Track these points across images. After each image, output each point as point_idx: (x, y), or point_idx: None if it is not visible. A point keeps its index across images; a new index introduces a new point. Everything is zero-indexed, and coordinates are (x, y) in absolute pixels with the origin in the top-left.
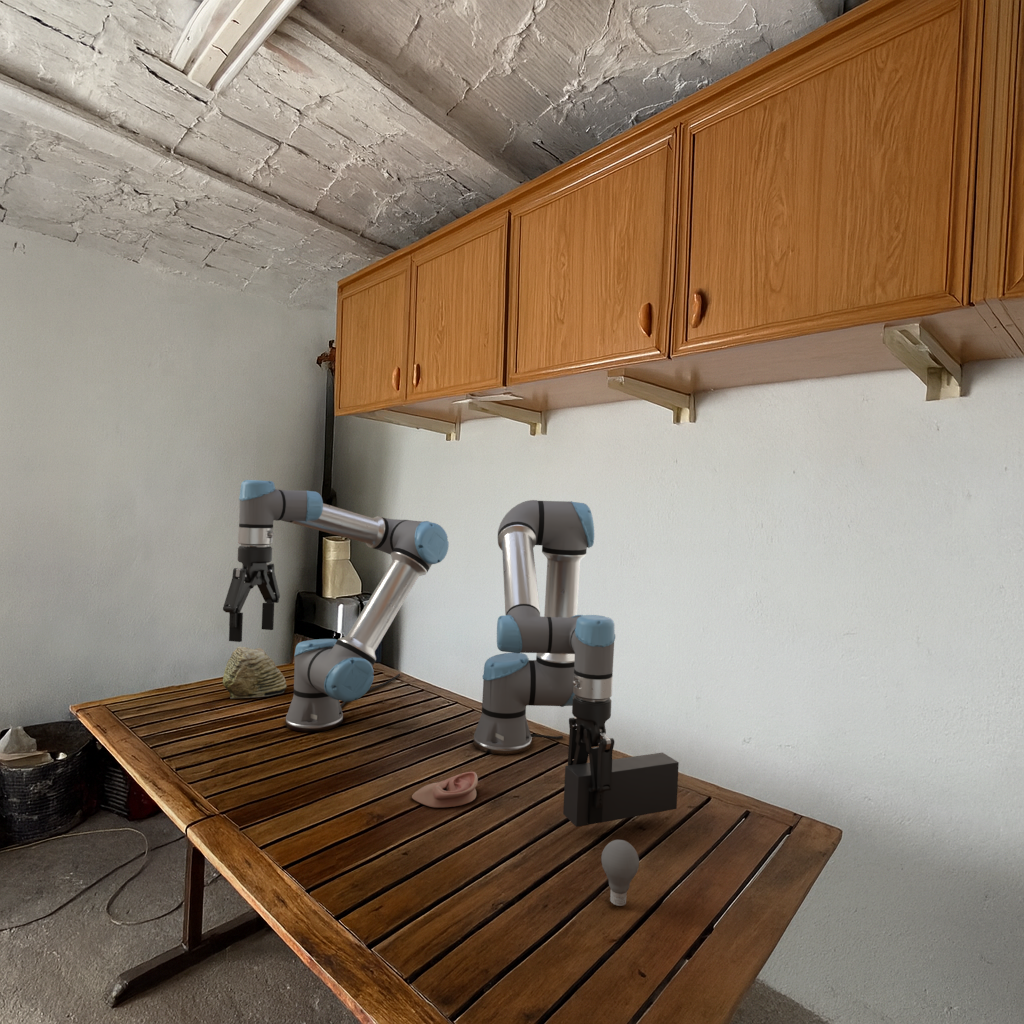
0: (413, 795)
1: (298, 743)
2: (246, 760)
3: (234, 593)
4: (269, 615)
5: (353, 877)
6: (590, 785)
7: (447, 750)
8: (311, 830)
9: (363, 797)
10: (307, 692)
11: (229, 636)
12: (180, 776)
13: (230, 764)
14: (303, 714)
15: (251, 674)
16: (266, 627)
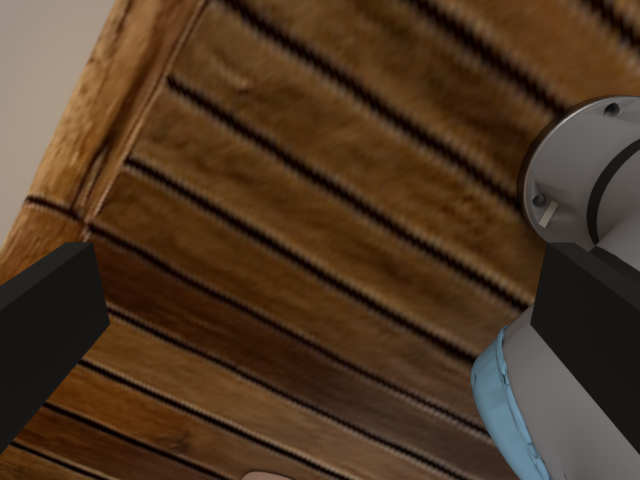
0: (250, 476)
1: (443, 203)
2: (318, 136)
3: None
4: (611, 384)
5: (33, 464)
6: None
7: (453, 474)
8: (106, 382)
9: (232, 410)
10: (598, 212)
11: (45, 260)
12: (190, 32)
13: (287, 112)
14: (549, 188)
15: None
16: (546, 292)
